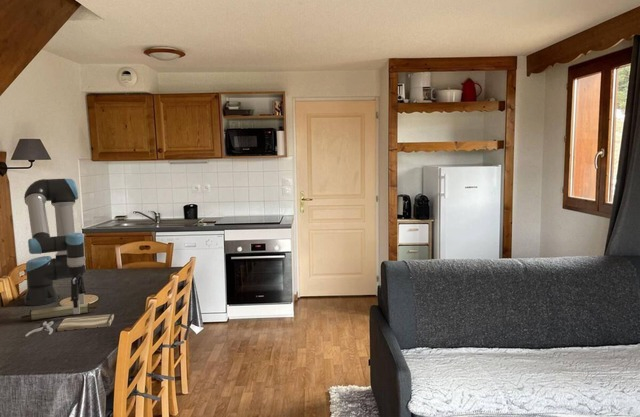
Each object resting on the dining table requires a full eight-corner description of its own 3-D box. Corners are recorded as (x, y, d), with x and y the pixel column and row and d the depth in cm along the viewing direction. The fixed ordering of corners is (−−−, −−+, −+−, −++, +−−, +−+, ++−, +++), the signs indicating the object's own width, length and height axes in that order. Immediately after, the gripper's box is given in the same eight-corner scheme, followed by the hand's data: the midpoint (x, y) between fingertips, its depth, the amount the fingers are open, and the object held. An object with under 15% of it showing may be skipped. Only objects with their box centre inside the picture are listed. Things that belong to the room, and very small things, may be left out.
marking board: (65, 321, 215) (64, 318, 215) (114, 316, 221) (113, 313, 220) (57, 331, 202) (57, 327, 202) (109, 326, 208) (109, 322, 208)
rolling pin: (98, 310, 232) (97, 300, 231) (98, 313, 227) (97, 303, 226) (22, 320, 218) (21, 309, 217) (20, 323, 213) (19, 313, 212)
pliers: (24, 333, 197) (37, 321, 211) (24, 337, 197) (37, 325, 211) (50, 331, 199) (61, 320, 213) (50, 335, 199) (61, 323, 213)
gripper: (79, 270, 213) (82, 317, 216) (89, 259, 235) (92, 302, 237) (61, 271, 211) (64, 318, 213) (73, 260, 233) (76, 304, 235)
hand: (79, 310), depth 225 cm, fingers open, 10 cm apart
